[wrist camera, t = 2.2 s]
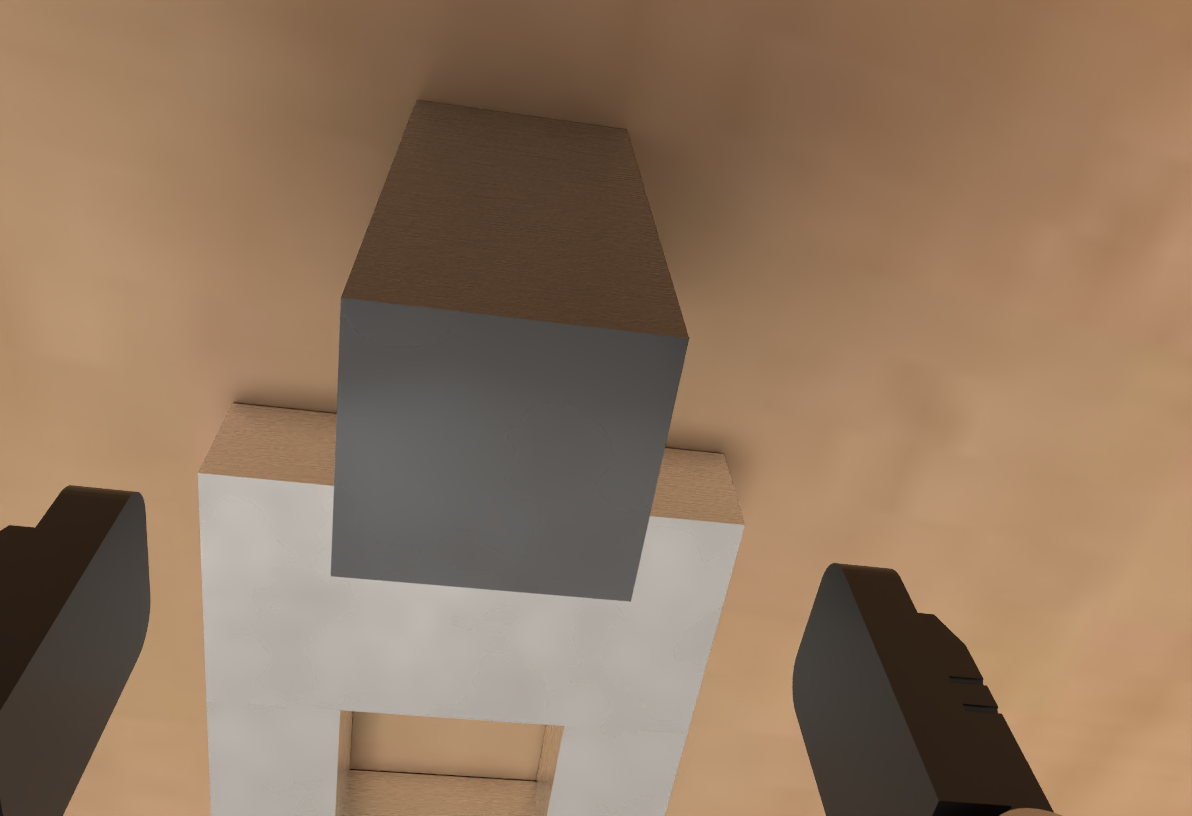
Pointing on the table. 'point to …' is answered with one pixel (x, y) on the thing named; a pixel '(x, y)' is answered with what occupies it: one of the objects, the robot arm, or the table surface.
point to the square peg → (505, 362)
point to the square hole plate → (440, 646)
